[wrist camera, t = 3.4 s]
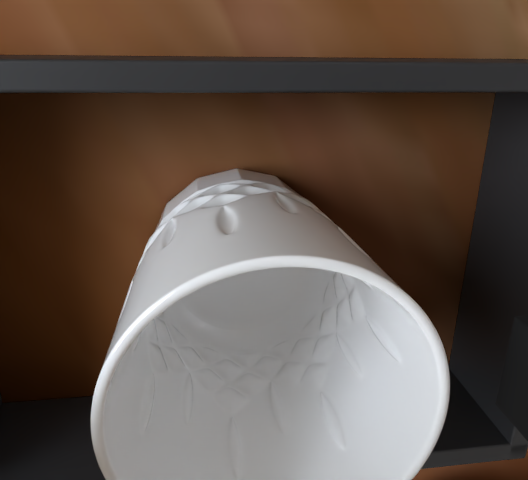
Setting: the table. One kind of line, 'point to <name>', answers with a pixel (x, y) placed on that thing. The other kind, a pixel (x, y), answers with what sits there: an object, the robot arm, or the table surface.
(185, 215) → the white cup
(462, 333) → the bin
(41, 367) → the table surface
